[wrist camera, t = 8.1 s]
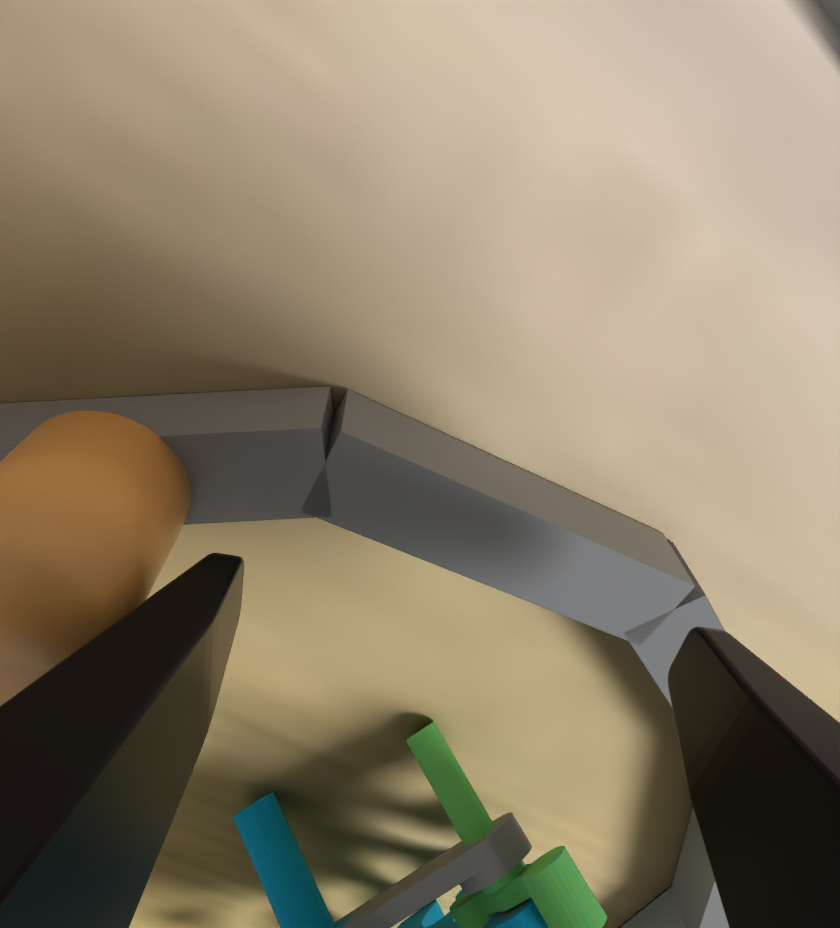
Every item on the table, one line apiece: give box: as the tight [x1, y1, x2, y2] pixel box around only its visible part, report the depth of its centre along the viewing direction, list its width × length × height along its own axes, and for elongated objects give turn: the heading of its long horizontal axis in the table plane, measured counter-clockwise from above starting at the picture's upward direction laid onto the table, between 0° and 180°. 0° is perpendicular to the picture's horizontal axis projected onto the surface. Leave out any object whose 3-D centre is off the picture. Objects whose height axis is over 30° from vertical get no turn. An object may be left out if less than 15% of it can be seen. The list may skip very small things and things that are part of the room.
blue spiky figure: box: [233, 722, 607, 928], centre depth 14 cm, size 11×6×10 cm
